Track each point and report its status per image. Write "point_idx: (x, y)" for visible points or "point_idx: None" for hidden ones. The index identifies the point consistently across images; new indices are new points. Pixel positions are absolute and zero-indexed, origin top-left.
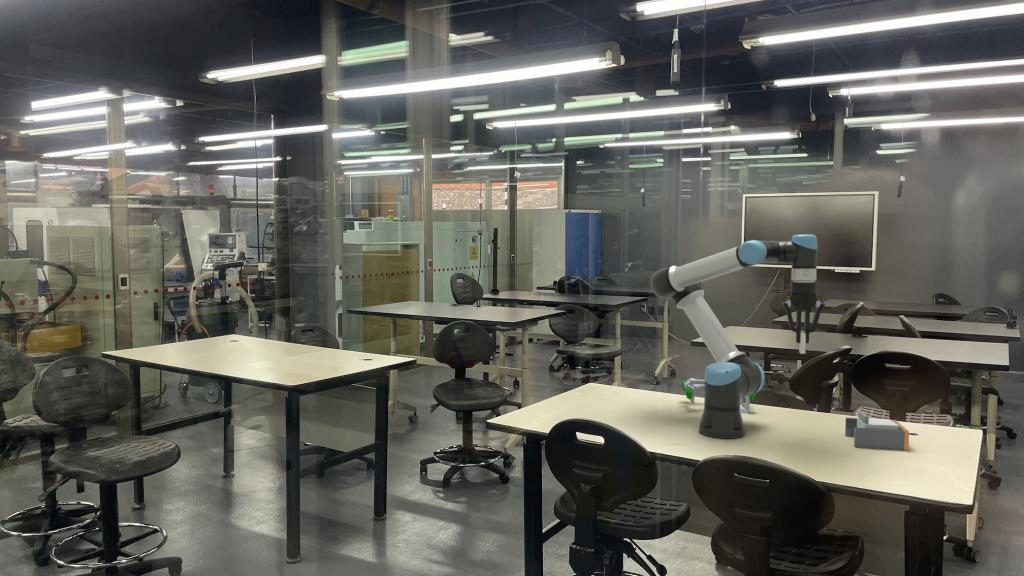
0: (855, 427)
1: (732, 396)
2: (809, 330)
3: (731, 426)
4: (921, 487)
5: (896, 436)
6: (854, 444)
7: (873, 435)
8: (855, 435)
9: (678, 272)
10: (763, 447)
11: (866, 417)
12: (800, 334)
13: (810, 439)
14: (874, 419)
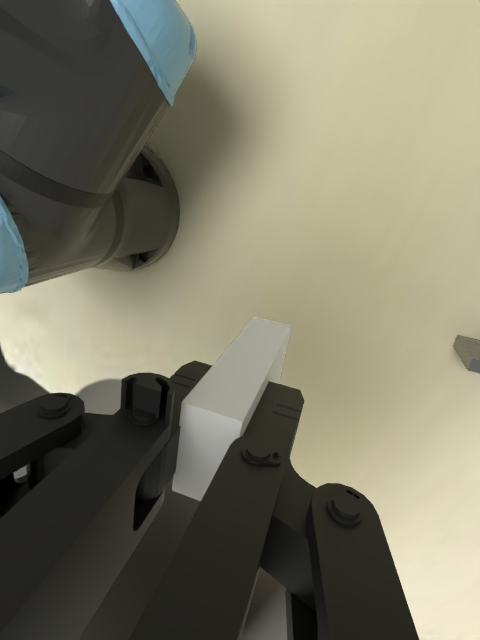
0: (475, 359)
1: (64, 274)
2: (260, 565)
3: (122, 269)
4: (426, 595)
5: None
6: (456, 342)
7: None
8: (462, 359)
9: None
10: (201, 339)
11: None
12: (178, 462)
13: (352, 264)
14: None
